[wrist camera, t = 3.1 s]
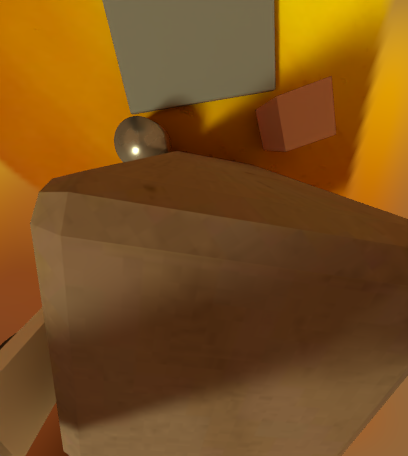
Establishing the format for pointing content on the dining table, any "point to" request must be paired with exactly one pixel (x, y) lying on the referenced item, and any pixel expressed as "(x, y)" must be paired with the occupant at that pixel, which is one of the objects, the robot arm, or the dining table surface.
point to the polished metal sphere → (140, 139)
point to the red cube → (298, 117)
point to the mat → (192, 50)
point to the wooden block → (217, 309)
